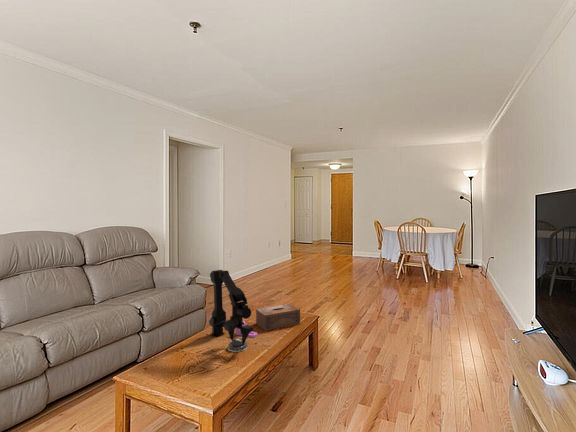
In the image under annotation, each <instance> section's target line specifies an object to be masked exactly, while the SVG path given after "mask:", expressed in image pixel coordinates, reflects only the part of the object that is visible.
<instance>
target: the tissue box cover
mask: <svg viewBox="0 0 576 432" xmlns="http://www.w3.org/2000/svg"><path fill="white" fill-rule="evenodd" d="M255 324H256V325H257V326H259V327H260V328H261V329H262V330H264V331H270V330H273V329H280V327H281V328H284V327H289V326H290V327H291V326H295V325H301V309H300V308H298V307H296V306H295V305H293V304H292V303H287V304H280V305H273V306H266V307H261V308H256V309H255Z"/></svg>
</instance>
